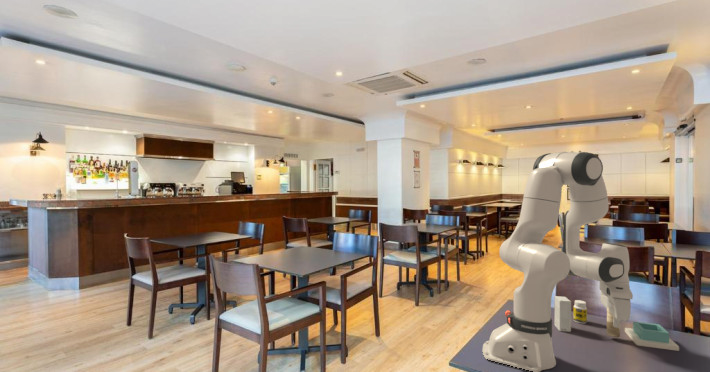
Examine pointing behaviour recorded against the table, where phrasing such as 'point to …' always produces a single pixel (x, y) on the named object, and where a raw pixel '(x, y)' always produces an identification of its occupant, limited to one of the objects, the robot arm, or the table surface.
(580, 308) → the supplement bottle
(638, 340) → the socket block
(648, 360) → the table surface
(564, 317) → the skincare box
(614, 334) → the maple peg
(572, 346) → the table surface
